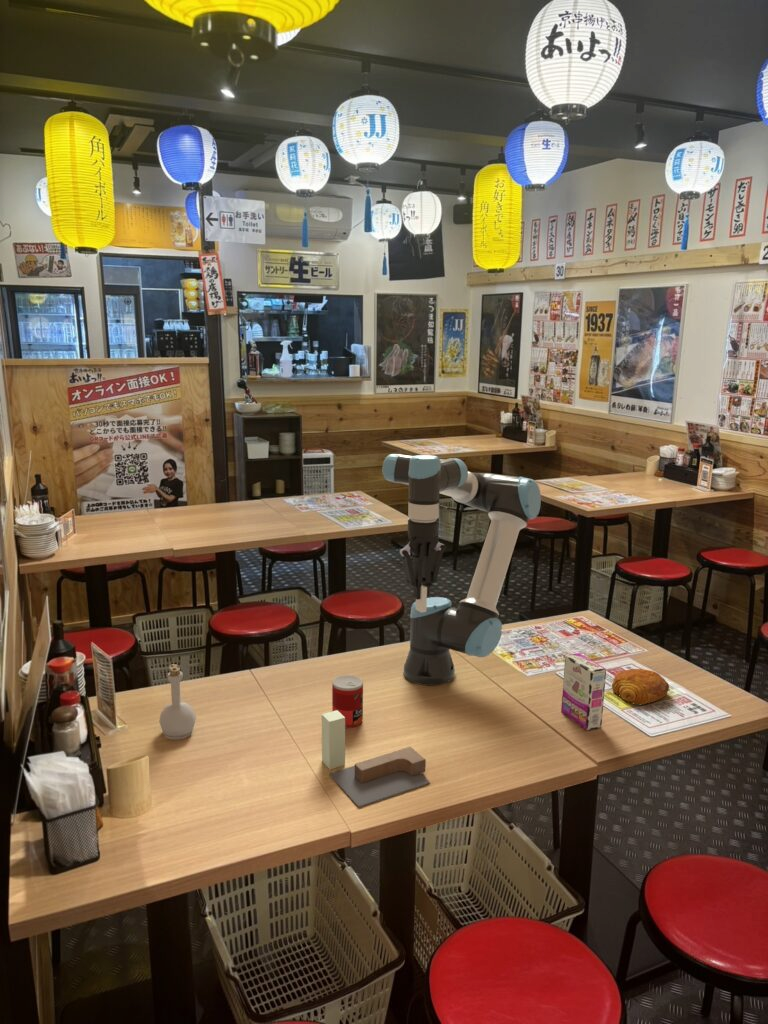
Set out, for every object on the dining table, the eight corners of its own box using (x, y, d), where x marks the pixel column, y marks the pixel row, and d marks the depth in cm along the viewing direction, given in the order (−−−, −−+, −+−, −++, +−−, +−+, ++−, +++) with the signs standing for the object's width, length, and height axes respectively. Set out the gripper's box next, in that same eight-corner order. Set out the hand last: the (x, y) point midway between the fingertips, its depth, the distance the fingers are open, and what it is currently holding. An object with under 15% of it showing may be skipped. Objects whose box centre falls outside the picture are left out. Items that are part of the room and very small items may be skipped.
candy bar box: (602, 727, 188) (607, 668, 185) (586, 731, 186) (591, 671, 183) (575, 708, 198) (579, 651, 195) (560, 711, 196) (564, 654, 193)
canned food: (359, 729, 186) (359, 689, 183) (328, 726, 187) (328, 686, 185) (365, 715, 193) (366, 676, 190) (336, 712, 194) (336, 673, 192)
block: (337, 756, 173) (337, 710, 171) (345, 764, 170) (345, 717, 167) (322, 761, 171) (321, 714, 169) (329, 769, 168) (329, 721, 165)
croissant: (675, 704, 206) (681, 678, 205) (641, 711, 197) (647, 683, 196) (633, 683, 218) (638, 658, 216) (598, 689, 209) (604, 663, 207)
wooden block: (410, 758, 172) (354, 776, 164) (410, 746, 171) (354, 763, 164) (425, 772, 167) (368, 791, 159) (426, 759, 166) (368, 778, 158)
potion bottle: (184, 720, 189) (181, 655, 185) (202, 733, 183) (199, 666, 179) (153, 732, 183) (148, 665, 179) (170, 746, 177) (166, 677, 173)
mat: (397, 754, 175) (397, 752, 175) (429, 783, 163) (429, 782, 163) (329, 774, 166) (329, 773, 166) (358, 807, 154) (358, 806, 154)
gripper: (436, 513, 185) (434, 601, 190) (392, 518, 178) (391, 610, 184) (454, 519, 179) (450, 610, 184) (408, 525, 172) (406, 619, 177)
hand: (420, 610), depth 184 cm, fingers closed
